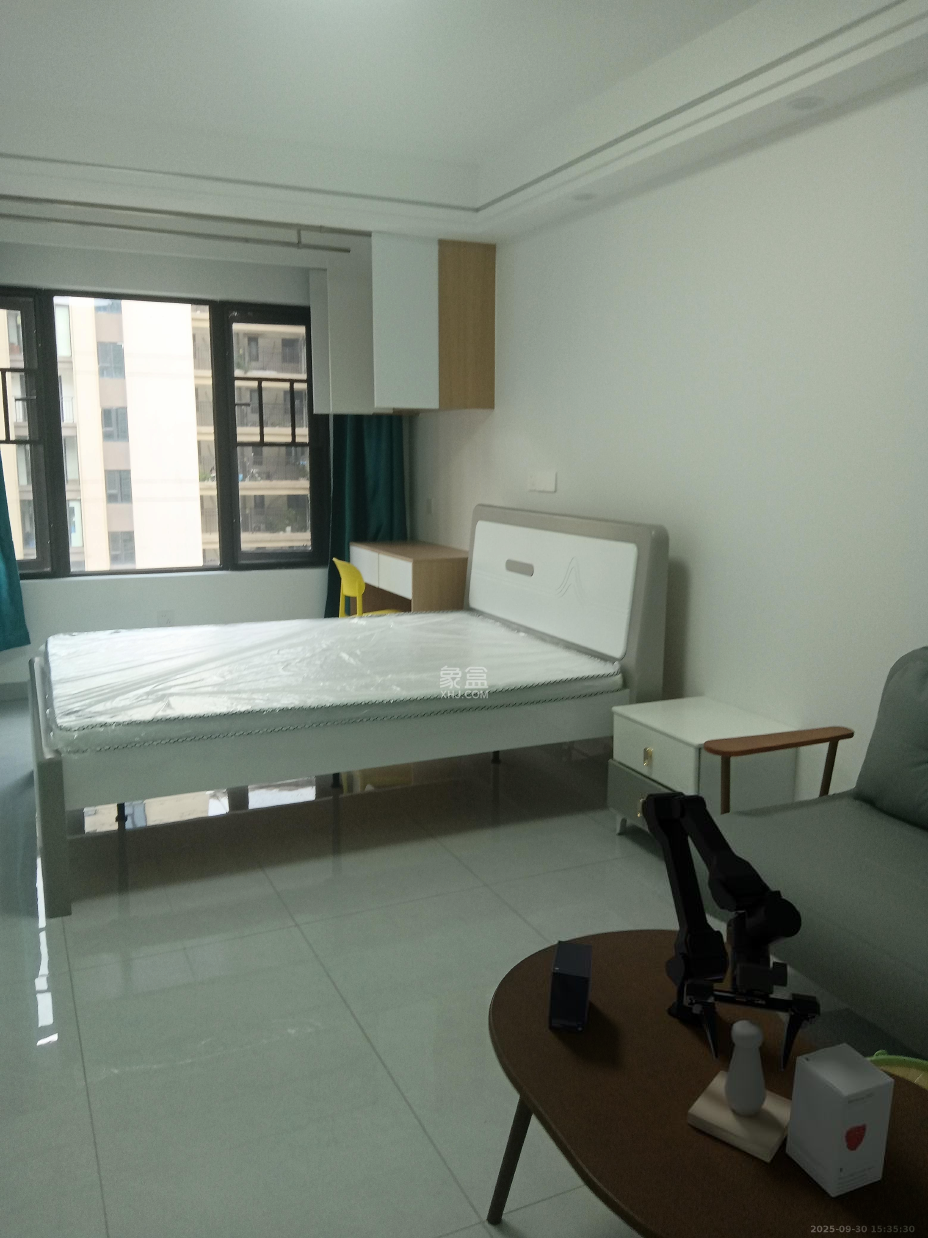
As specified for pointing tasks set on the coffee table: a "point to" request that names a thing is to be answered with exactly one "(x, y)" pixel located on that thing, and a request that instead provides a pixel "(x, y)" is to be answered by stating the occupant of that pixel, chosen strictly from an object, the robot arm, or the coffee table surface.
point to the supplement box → (839, 1118)
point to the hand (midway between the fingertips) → (749, 1064)
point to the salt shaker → (745, 1070)
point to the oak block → (742, 1120)
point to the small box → (570, 986)
